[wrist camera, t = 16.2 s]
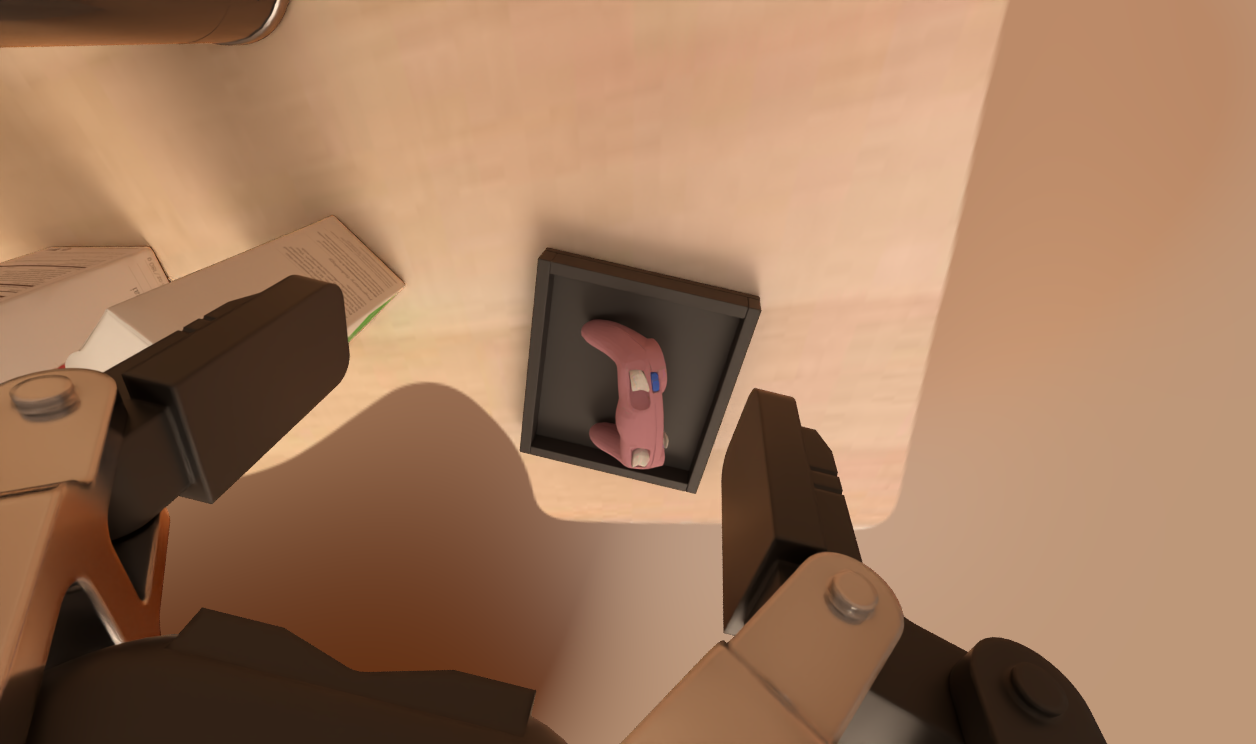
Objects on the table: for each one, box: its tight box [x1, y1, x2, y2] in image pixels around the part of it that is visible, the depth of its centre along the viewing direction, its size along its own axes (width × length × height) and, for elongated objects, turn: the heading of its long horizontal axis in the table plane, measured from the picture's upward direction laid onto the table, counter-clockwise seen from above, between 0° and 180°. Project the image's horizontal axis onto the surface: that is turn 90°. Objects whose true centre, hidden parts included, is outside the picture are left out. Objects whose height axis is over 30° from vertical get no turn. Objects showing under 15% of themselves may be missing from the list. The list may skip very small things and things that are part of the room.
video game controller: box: [581, 319, 669, 469], centre depth 35 cm, size 10×5×7 cm, turn 2°
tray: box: [520, 248, 761, 494], centre depth 37 cm, size 14×16×2 cm
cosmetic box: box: [65, 215, 405, 372], centre depth 31 cm, size 8×7×16 cm
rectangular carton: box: [0, 247, 169, 384], centre depth 35 cm, size 9×9×15 cm
